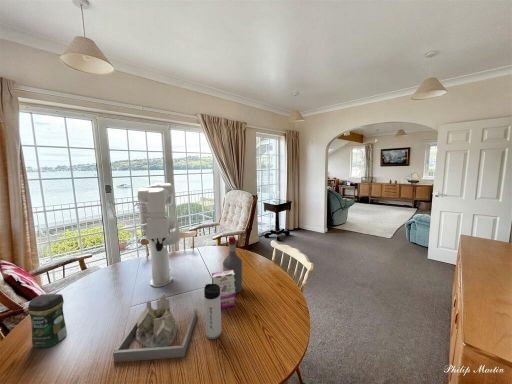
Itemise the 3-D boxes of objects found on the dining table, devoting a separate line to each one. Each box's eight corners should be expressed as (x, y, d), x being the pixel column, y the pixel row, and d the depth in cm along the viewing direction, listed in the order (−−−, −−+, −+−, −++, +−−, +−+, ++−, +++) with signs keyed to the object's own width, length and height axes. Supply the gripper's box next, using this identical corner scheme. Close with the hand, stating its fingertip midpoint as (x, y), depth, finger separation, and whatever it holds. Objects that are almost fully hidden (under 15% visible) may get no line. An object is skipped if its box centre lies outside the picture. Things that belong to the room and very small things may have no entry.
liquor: (230, 296, 109) (229, 241, 106) (222, 289, 116) (220, 237, 113) (244, 290, 114) (243, 237, 112) (235, 283, 121) (234, 234, 119)
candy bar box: (234, 299, 106) (233, 269, 104) (236, 305, 101) (235, 274, 99) (212, 303, 103) (211, 272, 101) (213, 310, 98) (212, 277, 96)
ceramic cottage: (139, 324, 89) (138, 292, 87) (179, 318, 93) (179, 288, 91) (126, 357, 74) (124, 320, 72) (174, 349, 78) (174, 313, 76)
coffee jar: (27, 349, 77) (21, 302, 76) (49, 332, 85) (44, 290, 84) (52, 349, 77) (46, 302, 75) (71, 333, 85) (67, 290, 83)
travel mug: (214, 325, 88) (212, 280, 86) (224, 332, 84) (223, 286, 82) (202, 334, 83) (200, 287, 82) (212, 342, 79) (210, 293, 77)
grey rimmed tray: (143, 318, 93) (142, 311, 92) (197, 315, 95) (196, 308, 94) (113, 362, 71) (113, 352, 71) (184, 356, 73) (183, 347, 73)
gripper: (138, 217, 97) (140, 254, 99) (171, 216, 99) (173, 252, 101) (144, 213, 104) (146, 248, 107) (175, 212, 106) (176, 246, 108)
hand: (159, 250), depth 104 cm, fingers closed
